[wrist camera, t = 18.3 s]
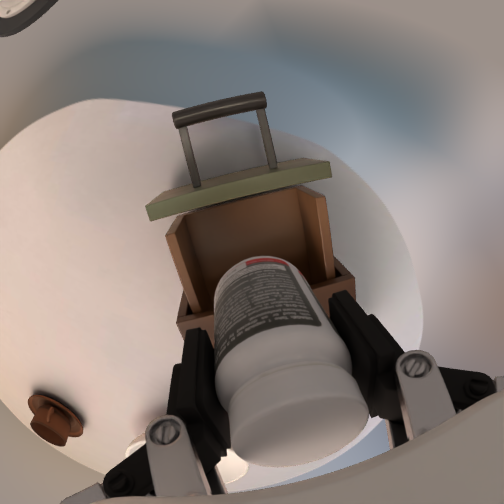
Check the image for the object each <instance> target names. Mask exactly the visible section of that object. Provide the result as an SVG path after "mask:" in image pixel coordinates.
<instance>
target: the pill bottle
mask: <svg viewBox="0 0 504 504" xmlns="http://www.w3.org/2000/svg"><path fill="white" fill-rule="evenodd" d="M351 375H352V359H351V355H350V352H349V350H348V348H347V346H346V344H345V342H344V340H343V339H342V337H341V336H340V334H339V333H338V331H337V329H336V328H335V326H334V325H333V323H332V321H331V320H330V318H329V317H328V315H327V314H326V312H325V310H324V309H323V307H322V305H321V304H320V302H319V301H318V299H317V297H316V296H315V294H314V293H313V291H312V289H311V288H310V286H309V284H308V283H307V281H306V279H305V278H304V276H303V275H302V273H301V272H300V271H299V270H298V269H297V268H296V267H295V266H294V265H292V264H291V263H289V262H287V261H286V260H283V259H281V258H277V257H272V256H257V257H252V258H248V259H246V260H243V261H241V262H239V263H238V264H236V265H235V266H233V267H232V268H231V269H229V270H228V271H227V272H226V273H225V274H224V276H223V277H222V278H221V280H220V281H219V283H218V285H217V288H216V291H215V297H214V380H215V389H216V394H217V397H218V400H219V402H220V403H221V405H222V407H223V408H224V409H225V410H226V411H227V412H228V416H229V422H230V435H231V444H232V448H233V450H234V451H235V453H236V454H237V455H238V456H239V457H240V458H241V459H243V460H245V461H247V462H249V463H252V464H255V465H259V466H265V467H289V466H296V465H301V464H306V463H309V462H313V461H316V460H319V459H322V458H324V457H326V456H329V455H331V454H333V453H335V452H337V451H339V450H340V449H342V448H343V447H345V446H346V445H348V444H349V443H350V442H352V441H353V440H354V439H355V438H356V437H357V436H358V435H359V434H360V433H361V432H362V430H363V429H364V427H365V426H366V423H367V421H368V418H369V410H368V407H367V404H366V402H365V400H364V398H363V396H362V394H361V391H360V389H359V386H358V384H357V382H356V380H355V379H354V378H353V377H352V376H351Z"/></svg>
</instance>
